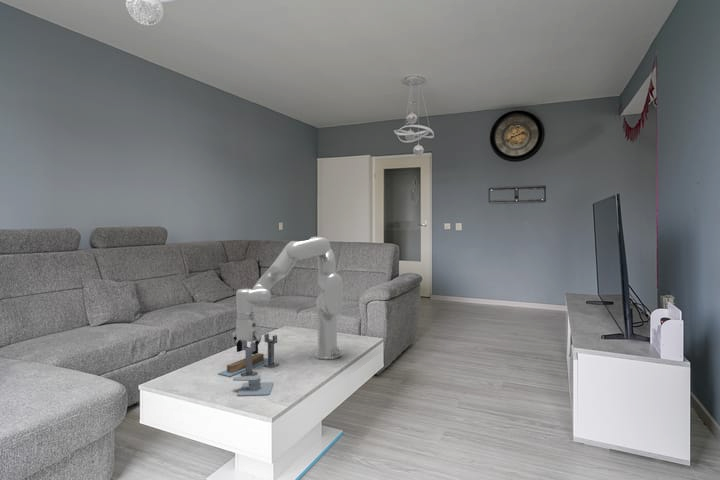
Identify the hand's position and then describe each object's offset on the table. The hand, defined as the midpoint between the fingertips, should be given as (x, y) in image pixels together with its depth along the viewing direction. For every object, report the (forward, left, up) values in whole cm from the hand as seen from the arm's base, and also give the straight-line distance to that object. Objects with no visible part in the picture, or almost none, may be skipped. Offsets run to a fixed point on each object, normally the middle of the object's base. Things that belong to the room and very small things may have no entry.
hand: (247, 352), depth 192 cm
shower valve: (-21, +19, -7) cm, 29 cm away
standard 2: (-9, -6, -7) cm, 13 cm away
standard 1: (-9, +8, -7) cm, 13 cm away
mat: (0, +1, -7) cm, 7 cm away
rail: (0, +1, -6) cm, 6 cm away
